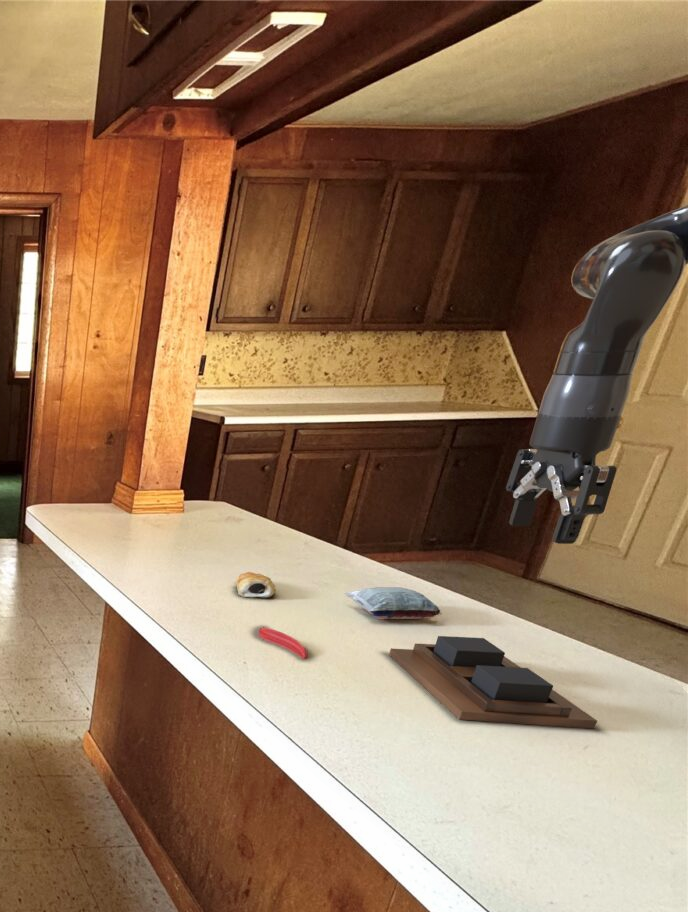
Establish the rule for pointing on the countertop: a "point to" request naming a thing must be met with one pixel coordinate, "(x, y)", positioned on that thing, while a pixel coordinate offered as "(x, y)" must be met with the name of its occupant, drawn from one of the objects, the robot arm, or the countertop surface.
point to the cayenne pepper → (283, 641)
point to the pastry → (255, 585)
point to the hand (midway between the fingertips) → (539, 533)
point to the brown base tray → (473, 704)
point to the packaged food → (394, 603)
